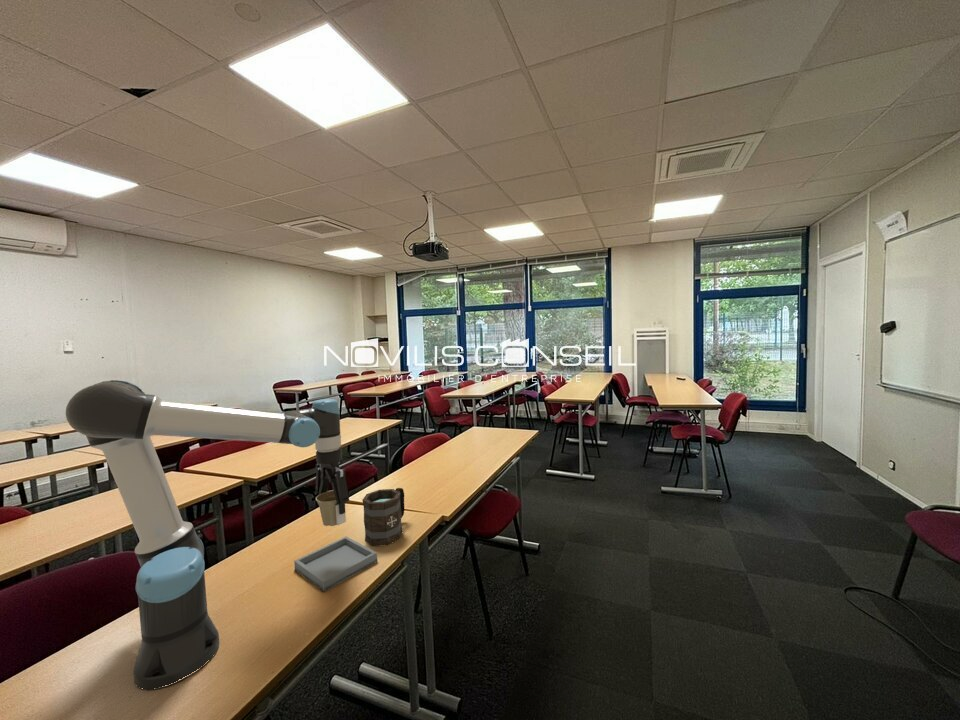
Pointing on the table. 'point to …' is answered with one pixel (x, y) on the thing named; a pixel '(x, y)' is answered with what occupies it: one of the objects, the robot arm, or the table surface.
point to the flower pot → (327, 507)
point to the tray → (335, 563)
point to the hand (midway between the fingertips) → (333, 519)
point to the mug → (383, 516)
